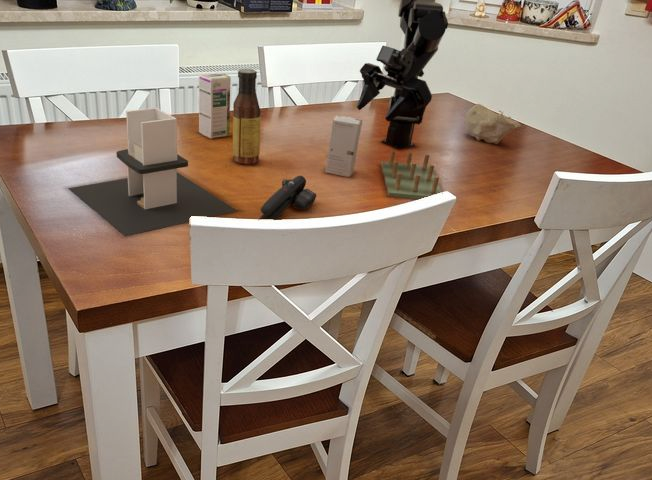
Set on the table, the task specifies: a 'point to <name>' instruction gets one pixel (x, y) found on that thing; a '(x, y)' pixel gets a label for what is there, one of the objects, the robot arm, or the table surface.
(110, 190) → the box holder stand
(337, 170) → the cosmetic box
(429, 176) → the plate rack
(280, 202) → the can opener
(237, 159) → the sauce bottle
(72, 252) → the table surface
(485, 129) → the beige lumpy chunk
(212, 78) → the syrup box
